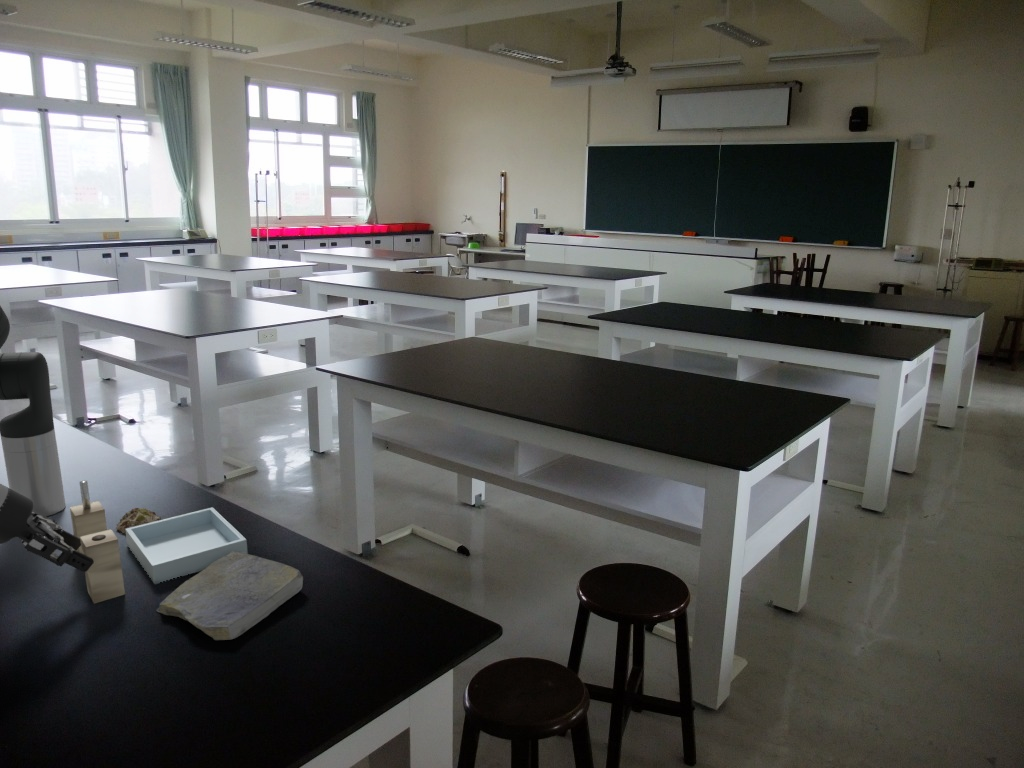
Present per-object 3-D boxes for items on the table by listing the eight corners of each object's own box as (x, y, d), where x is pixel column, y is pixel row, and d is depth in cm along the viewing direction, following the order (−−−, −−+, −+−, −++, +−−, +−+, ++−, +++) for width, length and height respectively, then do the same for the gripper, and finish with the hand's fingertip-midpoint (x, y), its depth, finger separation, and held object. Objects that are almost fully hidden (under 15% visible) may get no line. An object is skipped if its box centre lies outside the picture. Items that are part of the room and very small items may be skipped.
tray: (127, 545, 141) (125, 528, 140) (214, 523, 151) (212, 507, 150) (154, 584, 128) (152, 565, 127) (247, 557, 138) (246, 539, 137)
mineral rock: (107, 514, 150) (148, 495, 154) (116, 532, 152) (156, 512, 156) (121, 535, 142) (163, 514, 146) (130, 553, 144) (171, 532, 148)
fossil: (140, 627, 118) (223, 649, 111) (136, 600, 117) (220, 620, 110) (235, 574, 136) (312, 590, 128) (232, 550, 135) (310, 565, 128)
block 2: (87, 591, 125) (79, 536, 123) (118, 583, 128) (110, 528, 126) (94, 603, 122) (86, 546, 119) (124, 594, 125) (117, 538, 122)
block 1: (77, 558, 136) (65, 480, 133) (105, 551, 139) (95, 475, 135) (82, 568, 133) (71, 489, 129) (111, 560, 136) (101, 482, 132)
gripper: (12, 502, 107) (110, 552, 117) (-1, 473, 118) (91, 521, 128) (-27, 546, 105) (76, 594, 115) (-36, 513, 116) (59, 559, 126)
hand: (84, 555), depth 122 cm, fingers open, 8 cm apart
